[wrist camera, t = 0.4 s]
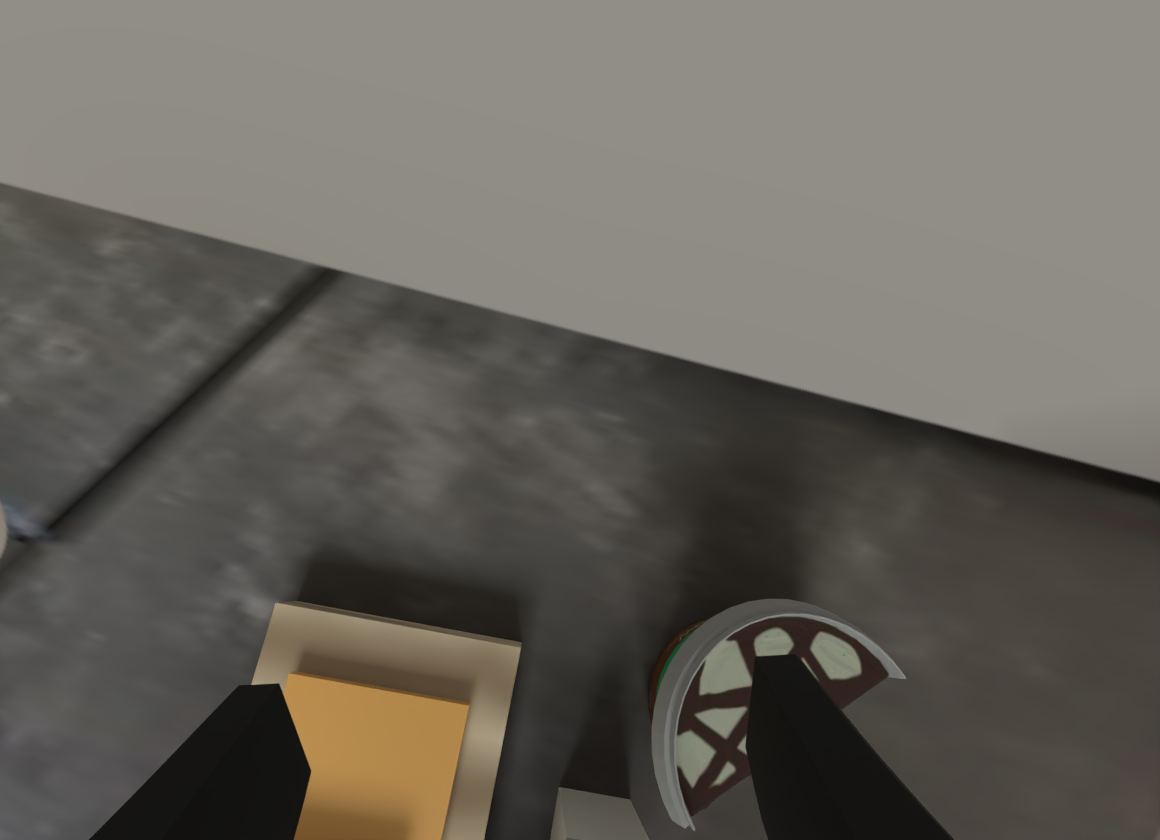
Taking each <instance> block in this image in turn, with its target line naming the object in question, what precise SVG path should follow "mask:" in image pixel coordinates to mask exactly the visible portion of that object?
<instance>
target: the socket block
mask: <svg viewBox="0 0 1160 840" xmlns="http://www.w3.org/2000/svg"><path fill="white" fill-rule="evenodd" d="M521 644H522V642H518V641H512V640H507V639H501V638H496V637H490V636H485V635H479V634H474V633H469V632H463V631H458V630H452V629H447V628H441V627H436V626H430V625H425V624H420V623H414V622H409V621H403V620H398V619H392V618H387V617H381V616H376V615H370V614H365V613H360V612H354V611H349V610H343V609H338V608H332V607H327V606H321V605H316V604H311V603H305V602H300V601H289V602H278V603H275V607H274V610H273V613H272V617H271V620H270V624H269V627H268V630H267V634H266V637H265V640H264V644H263V647H262V651H261V654H260V657H259V661H258V664H257V667H256V671H255V674H254V677H253V681H252V684H251V685H258V684H275V683H279V684H280V687H281V689H282V692H284V689H285V685H286V682H287V678H288V675H289V673H291V672H294V671H297V672H303V673H308V674H314V675H320V676H325V677H331V678H336V679H342V680H347V681H353V682H359V683H364V684H370V685H375V686H381V687H386V688H392V689H397V690H403V691H409V692H414V693H420V694H425V695H431V696H436V697H442V698H447V699H453V700H459V701H464V702H470V708H469V712H468V717H467V722H466V727H465V732H464V736H463V741H462V746H461V751H460V755H459V760H458V765H457V770H456V775H455V779H454V784H453V789H452V794H451V799H450V803H449V808H448V813H447V818H446V822H445V827H444V832H443V837H442V840H484V837H485V832H486V827H487V821H488V816H489V811H490V806H491V801H492V796H493V790H494V785H495V780H496V775H497V770H498V764H499V759H500V754H501V749H502V744H503V739H504V733H505V728H506V723H507V718H508V713H509V708H510V702H511V697H512V692H513V687H514V682H515V677H516V671H517V666H518V661H519V656H520V651H521Z"/></svg>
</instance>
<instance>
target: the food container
mask: <svg viewBox="0 0 1160 840" xmlns="http://www.w3.org/2000/svg"><path fill="white" fill-rule="evenodd" d="M788 654H796V655H797V656H798V657H799V658H800V659H801V660H802V661H803V662H804V664H805V665H806V666H807V667H808V669H809V670H810V671H811V673H812V674H813V675H814V677H815V678H816V679H817V680H818V682H819V683H820V684H821V686H822V687H823V688H824V689H825V691H826V692H827V693H828V694H829V696H830V697H831V698H832V699H833V701H834V702H835V703H836V704H837V706H838V707H839V708H840V709H841V710H842V709H843V708H844V707H846V706H847V705H849V704H850V703H851V702H853V701H854V700H856V699H857V698H858V697H860V696H861V695H863V694H864V693H865V692H867V691H868V690H870V689H871V688H872V687H874V686H875V685H877V684H878V683H879V682H881V681H882V680H884V679H885V678H886V677H892V678H899V679H906V677H905V675H904V674H903V673H902V672H901V670H900V669H899V668H898V666H897V665H896V664H895V662H894V661H893V660H892V658H891V657H890V656H889V655H888V654H887V653H886V652H885V651H884V650H883V649H882V648H881V646H880V645H879V644H878V643H877V642H876V641H875V640H873V639H872V638H871V637H869V636H868V635H867V634H865V633H864V632H863V631H862V630H860V629H859V628H858V627H856V626H854V625H852V624H851V623H849V622H847V621H846V620H844V619H842V618H840V617H838V616H837V615H835V614H833V613H831V612H829V611H828V610H825V609H823V608H820V607H817V606H814V605H812V604H809V603H805V602H800V601H795V600H790V599H762V600H755V601H748V602H745V603H742V604H739V605H736V606H733V607H730V608H728V609H726V610H724V611H722V612H721V613H719V614H717V615H715V616H713V617H711V618H708V619H704V620H700V621H697V622H694V623H692V624H690V625H689V626H687V627H685V628H683V629H682V630H681V631H680V632H678V633H677V634H676V635H675V636H674V637H673V638H672V639H671V640H670V641H669V642H668V643H667V644H666V646H665V647H664V649H663V650H662V652H661V653H660V655H659V657H658V659H657V661H656V664H655V666H654V669H653V672H652V676H651V680H650V687H649V713H650V719H651V724H652V757H653V763H654V770H655V776H656V780H657V783H658V787H659V790H660V793H661V797H662V800H663V802H664V804H665V807H666V809H667V811H668V813H669V815H670V817H671V820H672V821H674V822H675V823H677V824H678V825H680V826H681V827H683V828H684V829H685V828H686V827H688V826H690V827H691V828H692V829H693V831H695V827H694V824H693V822H692V819H691V816H693V815H695V814H696V813H698V812H699V811H701V810H702V809H704V808H706V807H707V806H708V805H709V804H710V803H711V802H712V801H714V800H715V799H716V798H717V797H719V796H720V795H721V794H723V793H724V792H726V791H727V790H729V789H730V788H731V787H733V786H734V785H736V784H737V783H739V782H740V781H742V780H743V779H745V778H746V777H748V776H749V775H751V770H750V766H749V761H748V756H747V752H746V747H745V744H746V735H747V726H748V717H749V707H750V698H751V689H752V679H753V670H754V661H755V656H770V655H788Z"/></svg>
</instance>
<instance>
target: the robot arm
mask: <svg viewBox="0 0 1160 840" xmlns="http://www.w3.org/2000/svg"><path fill="white" fill-rule="evenodd" d="M745 747H746V752H747V756H748V761H749V766H750V770H751V775H752V779H753V784H754V788H755V792H756V797H757V801H758V805H759V809H760V814H761V818H762V821H763V825H764V828H765V831H766V834H767V837H768V840H954V839H953V838H952V837H951V836H950V835H949V834H948V833H947V831H946V830H945V829H944V828H943V827H942V826H941V825H940V824H939V823H938V822H937V821H936V820H935V818H934V817H933V816H932V815H931V814H930V813H929V812H928V811H927V810H926V809H925V808H924V806H923V805H922V804H921V803H920V802H919V801H918V800H917V799H916V797H915V796H914V795H913V794H912V793H911V792H910V791H909V790H908V788H907V787H906V786H905V785H904V784H903V783H902V782H901V780H900V779H899V778H898V777H897V776H896V775H895V774H894V772H893V771H892V770H891V769H890V768H889V767H888V766H887V765H886V763H885V762H884V761H883V760H882V759H881V758H880V756H879V755H878V754H877V753H876V752H875V751H874V749H873V748H872V747H871V746H870V745H869V743H868V742H867V741H866V740H865V739H864V738H863V736H862V735H861V734H860V733H859V731H858V730H857V729H856V728H855V727H854V725H853V724H852V723H851V722H850V720H849V719H848V718H847V717H846V716H845V714H844V713H843V712H842V711H841V709H840V708H839V707H838V706H837V704H836V703H835V702H834V701H833V699H832V698H831V697H830V696H829V694H828V693H827V692H826V691H825V689H824V688H823V687H822V686H821V684H820V683H819V682H818V680H817V679H816V678H815V677H814V675H813V674H812V673H811V671H810V670H809V669H808V667H807V666H806V665H805V664H804V662H803V661H802V660H801V659H800V658H799V657H798V656H797V655H796V654H788V655H770V656H755V661H754V670H753V679H752V689H751V698H750V707H749V717H748V726H747V735H746V744H745ZM310 775H311V768H310V766H309V763H308V760H307V758H306V755H305V752H304V749H303V747H302V744H301V741H300V739H299V736H298V733H297V730H296V728H295V725H294V722H293V719H292V717H291V714H290V711H289V709H288V706H287V703H286V700H285V698H284V695H283V692H282V689H281V687H280V684H279V683H275V684H258V685H240V686H238V687H237V688H236V689H235V690H234V691H233V692H232V693H231V694H230V695H229V696H228V697H227V698H226V699H225V700H224V701H223V702H222V703H221V704H220V705H219V706H218V708H217V709H216V710H215V711H214V712H213V713H212V714H211V715H210V716H209V717H208V718H207V719H206V720H205V721H204V722H203V723H202V724H201V725H200V726H199V727H198V728H197V729H196V730H195V731H194V732H193V734H192V735H191V736H190V737H189V738H188V739H187V740H186V741H185V742H184V743H183V744H182V745H181V746H180V747H179V748H178V749H177V750H176V751H175V752H174V753H173V754H172V755H171V757H170V758H169V759H168V760H167V761H166V762H165V763H164V764H163V765H162V766H161V767H160V768H159V769H158V770H157V771H156V772H155V773H154V774H153V775H152V776H151V777H150V778H149V779H148V780H147V781H146V782H145V784H144V785H143V786H142V787H141V788H140V789H139V790H138V791H137V792H136V793H135V794H134V795H133V796H132V797H131V798H130V799H129V800H128V801H127V802H126V803H125V804H124V805H123V806H122V807H121V808H120V809H119V810H118V811H117V812H116V813H115V814H114V815H113V816H112V817H111V818H110V819H109V820H108V821H107V822H106V823H105V824H104V825H103V826H102V827H101V828H100V829H99V830H98V831H97V832H96V833H95V834H94V835H93V836H92V837H91V838H90V839H89V840H294V837H295V833H296V830H297V826H298V823H299V819H300V815H301V812H302V808H303V804H304V800H305V796H306V792H307V788H308V783H309V779H310Z"/></svg>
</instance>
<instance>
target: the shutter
mask: <svg viewBox="0 0 1160 840" xmlns="http://www.w3.org/2000/svg"><path fill="white" fill-rule="evenodd" d="M283 695H284V698H285V700H286V703H287V706H288V709H289V711H290V714H291V717H292V719H293V722H294V725H295V728H296V730H297V733H298V736H299V739H300V741H301V744H302V747H303V749H304V752H305V755H306V758H307V760H308V763H309V766H310V768H311V775H310V779H309V783H308V788H307V792H306V796H305V800H304V804H303V808H302V812H301V815H300V819H299V823H298V826H297V830H296V833H295V837H294V840H442V837H443V832H444V827H445V822H446V818H447V813H448V808H449V803H450V799H451V794H452V789H453V784H454V779H455V775H456V770H457V765H458V760H459V755H460V751H461V746H462V741H463V736H464V732H465V727H466V722H467V717H468V712H469V708H470V702H464V701H459V700H453V699H447V698H442V697H436V696H431V695H425V694H420V693H414V692H409V691H403V690H397V689H392V688H386V687H381V686H375V685H370V684H364V683H359V682H353V681H347V680H342V679H336V678H331V677H325V676H320V675H314V674H308V673H303V672H297V671H294V672H291V673H289V675H288V678H287V682H286V685H285V689H284V692H283Z"/></svg>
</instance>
